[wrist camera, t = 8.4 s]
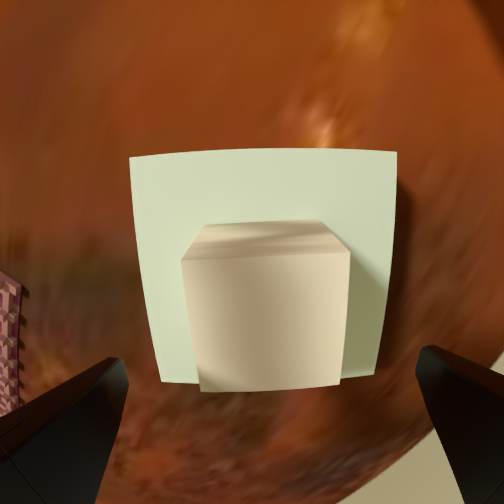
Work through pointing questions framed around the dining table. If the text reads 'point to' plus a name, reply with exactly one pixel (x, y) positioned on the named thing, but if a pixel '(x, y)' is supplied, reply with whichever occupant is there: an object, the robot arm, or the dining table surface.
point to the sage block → (260, 210)
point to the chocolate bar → (9, 342)
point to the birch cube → (267, 305)
